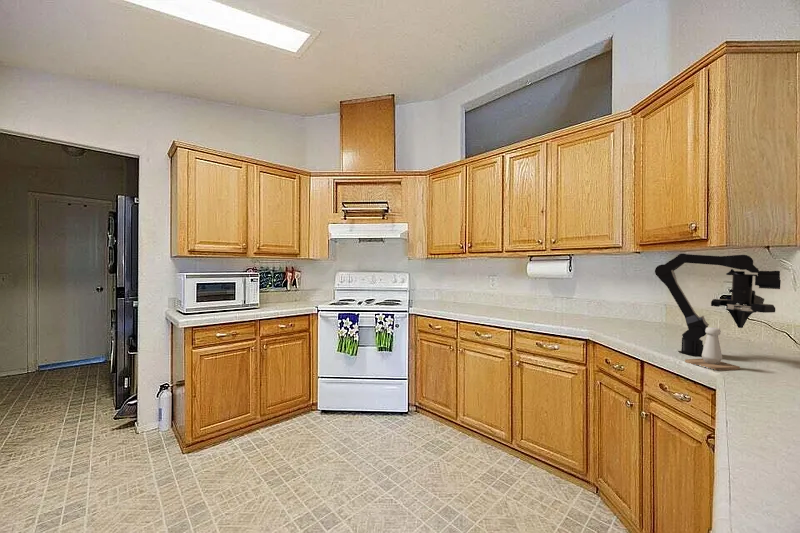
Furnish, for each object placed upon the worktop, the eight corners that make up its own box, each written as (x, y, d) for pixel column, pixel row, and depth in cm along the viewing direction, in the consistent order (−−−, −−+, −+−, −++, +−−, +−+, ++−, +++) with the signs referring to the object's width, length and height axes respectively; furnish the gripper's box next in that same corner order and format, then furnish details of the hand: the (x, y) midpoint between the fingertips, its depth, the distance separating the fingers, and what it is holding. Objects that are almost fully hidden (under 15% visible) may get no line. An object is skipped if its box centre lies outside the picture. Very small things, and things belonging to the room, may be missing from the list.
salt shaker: (709, 360, 141) (710, 325, 140) (726, 364, 135) (727, 328, 135) (697, 361, 139) (699, 326, 139) (714, 365, 133) (715, 329, 133)
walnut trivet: (685, 362, 141) (685, 359, 141) (708, 360, 143) (708, 358, 143) (715, 370, 130) (715, 368, 130) (739, 369, 133) (740, 366, 133)
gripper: (787, 289, 135) (785, 332, 136) (732, 285, 153) (730, 323, 154) (764, 289, 133) (762, 333, 133) (710, 285, 151) (709, 323, 152)
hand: (740, 327), depth 143 cm, fingers closed
